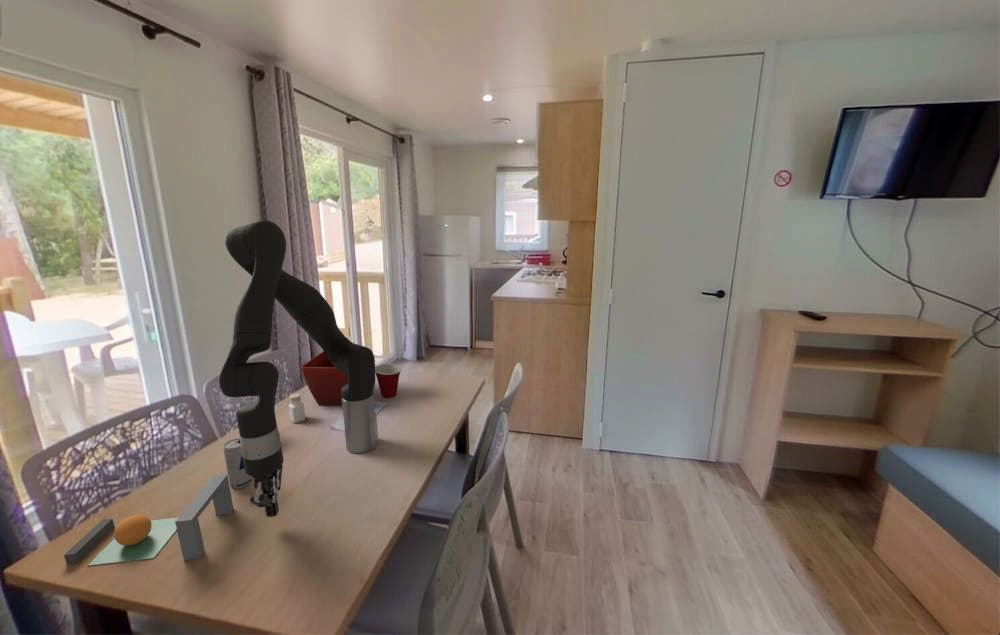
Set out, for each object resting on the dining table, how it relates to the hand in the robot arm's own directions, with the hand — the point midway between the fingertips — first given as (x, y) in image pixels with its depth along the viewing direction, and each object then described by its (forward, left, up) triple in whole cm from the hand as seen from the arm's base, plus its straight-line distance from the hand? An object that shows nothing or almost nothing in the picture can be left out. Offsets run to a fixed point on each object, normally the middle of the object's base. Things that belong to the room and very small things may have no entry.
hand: (273, 514), depth 92 cm
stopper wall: (+37, 0, -3) cm, 37 cm away
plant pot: (0, -68, -4) cm, 68 cm away
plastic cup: (-19, -68, -3) cm, 71 cm away
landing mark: (+28, 0, -3) cm, 28 cm away
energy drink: (+15, -18, -3) cm, 23 cm away
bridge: (+14, 0, -3) cm, 14 cm away
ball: (+28, 0, 0) cm, 28 cm away
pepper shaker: (+11, -52, -3) cm, 53 cm away
